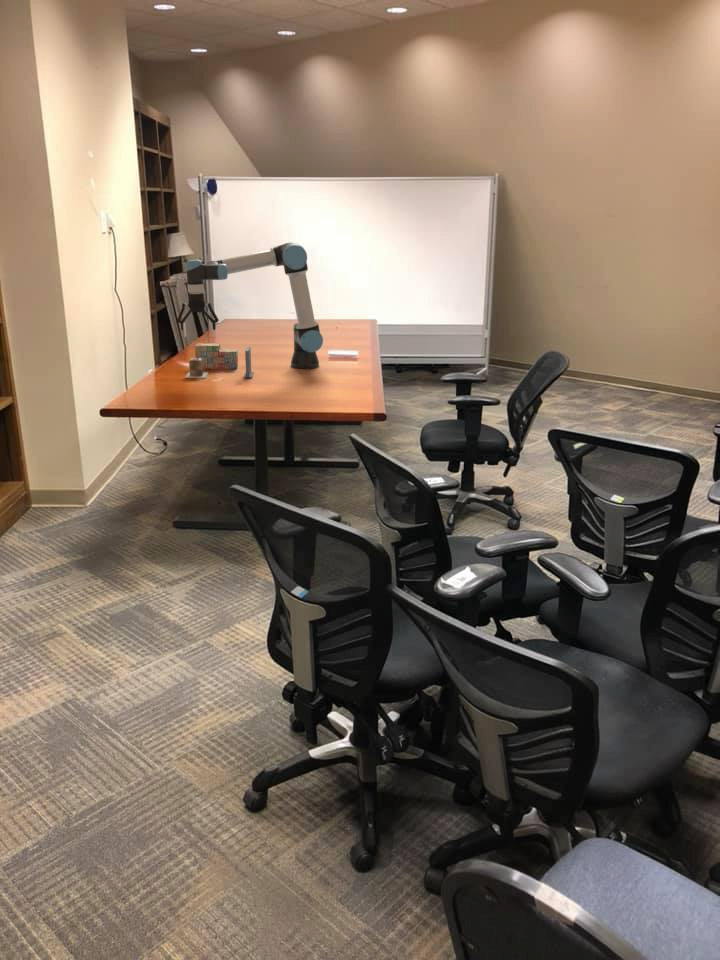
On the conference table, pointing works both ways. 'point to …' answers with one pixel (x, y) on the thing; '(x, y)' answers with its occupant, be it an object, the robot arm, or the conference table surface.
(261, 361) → the conference table surface
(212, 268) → the robot arm
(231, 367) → the stack of blocks
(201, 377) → the pad
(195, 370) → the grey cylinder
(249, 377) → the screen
